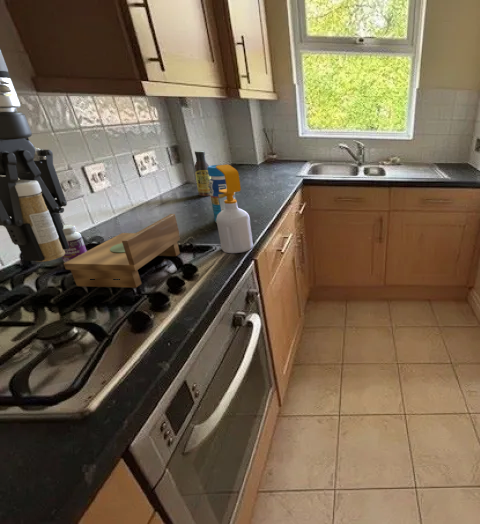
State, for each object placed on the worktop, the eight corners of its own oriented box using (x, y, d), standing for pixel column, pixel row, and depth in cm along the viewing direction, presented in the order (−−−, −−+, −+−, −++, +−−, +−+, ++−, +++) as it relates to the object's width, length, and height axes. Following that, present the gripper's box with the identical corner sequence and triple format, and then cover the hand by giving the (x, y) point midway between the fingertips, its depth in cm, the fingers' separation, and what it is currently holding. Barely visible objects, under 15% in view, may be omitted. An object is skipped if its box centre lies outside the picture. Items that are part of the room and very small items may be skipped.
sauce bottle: (199, 197, 153) (190, 152, 144) (198, 194, 157) (189, 150, 149) (214, 195, 156) (207, 151, 147) (213, 192, 160) (205, 150, 152)
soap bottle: (241, 240, 107) (229, 161, 96) (259, 247, 102) (249, 165, 91) (215, 248, 100) (200, 165, 89) (233, 256, 95) (219, 169, 85)
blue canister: (218, 217, 127) (209, 164, 118) (241, 217, 128) (233, 164, 119) (211, 224, 119) (200, 168, 111) (235, 224, 120) (226, 168, 111)
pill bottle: (64, 266, 87) (50, 231, 83) (63, 259, 91) (50, 226, 87) (90, 260, 90) (78, 227, 86) (88, 254, 94) (76, 222, 90)
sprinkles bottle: (26, 259, 58) (-9, 182, 52) (56, 250, 62) (27, 177, 56) (42, 264, 56) (8, 186, 51) (72, 255, 60) (44, 180, 54)
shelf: (72, 286, 78) (53, 239, 73) (128, 252, 96) (115, 212, 91) (141, 287, 78) (127, 240, 73) (184, 253, 96) (174, 214, 91)
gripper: (-55, 112, 41) (23, 278, 51) (63, 109, 57) (105, 236, 67) (-118, 109, 41) (-27, 276, 51) (18, 107, 56) (67, 235, 66)
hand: (48, 253), depth 59 cm, fingers closed on sprinkles bottle, 4 cm apart
